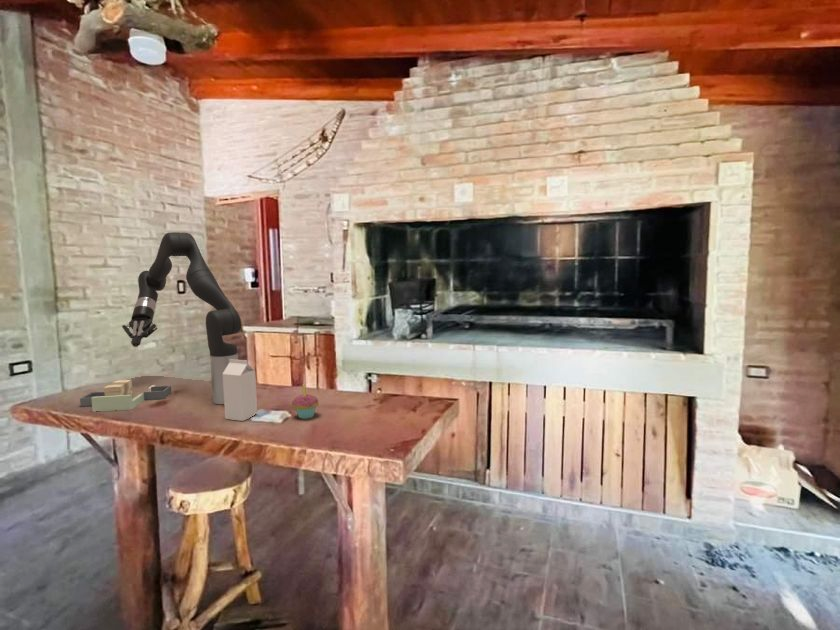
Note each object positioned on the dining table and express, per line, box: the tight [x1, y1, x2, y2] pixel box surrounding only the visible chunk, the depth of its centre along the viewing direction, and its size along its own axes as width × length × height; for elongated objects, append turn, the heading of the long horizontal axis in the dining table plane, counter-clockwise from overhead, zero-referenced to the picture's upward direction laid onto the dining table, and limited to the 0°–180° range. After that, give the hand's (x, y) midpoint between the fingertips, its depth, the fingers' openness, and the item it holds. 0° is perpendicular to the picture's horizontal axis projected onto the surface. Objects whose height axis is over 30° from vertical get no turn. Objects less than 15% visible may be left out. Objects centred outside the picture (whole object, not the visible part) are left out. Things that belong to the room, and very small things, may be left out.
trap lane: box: [79, 384, 172, 413], centre depth 182 cm, size 23×26×5 cm
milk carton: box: [223, 359, 258, 422], centre depth 161 cm, size 7×7×19 cm
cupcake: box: [291, 381, 319, 420], centre depth 162 cm, size 9×8×12 cm
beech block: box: [103, 379, 134, 399], centre depth 177 cm, size 10×5×8 cm, turn 9°
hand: (135, 345), depth 194 cm, fingers closed
